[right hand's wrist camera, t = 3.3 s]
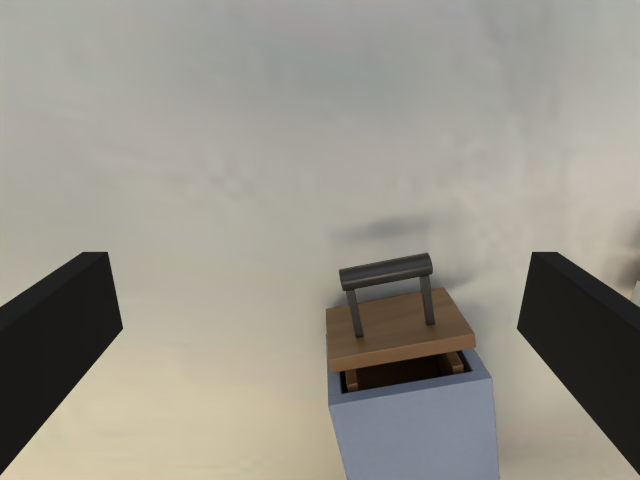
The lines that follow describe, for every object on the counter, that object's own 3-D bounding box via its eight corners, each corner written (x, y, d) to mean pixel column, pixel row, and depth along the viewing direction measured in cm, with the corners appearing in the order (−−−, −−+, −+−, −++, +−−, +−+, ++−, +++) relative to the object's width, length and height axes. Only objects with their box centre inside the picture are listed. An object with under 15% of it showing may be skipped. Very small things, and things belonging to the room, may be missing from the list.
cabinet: (325, 333, 36) (328, 406, 28) (451, 310, 36) (492, 378, 27) (362, 486, 43) (373, 582, 35) (468, 470, 42) (505, 563, 34)
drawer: (312, 250, 32) (310, 290, 26) (437, 225, 32) (468, 260, 25) (362, 464, 41) (370, 536, 34) (462, 448, 40) (491, 518, 33)
